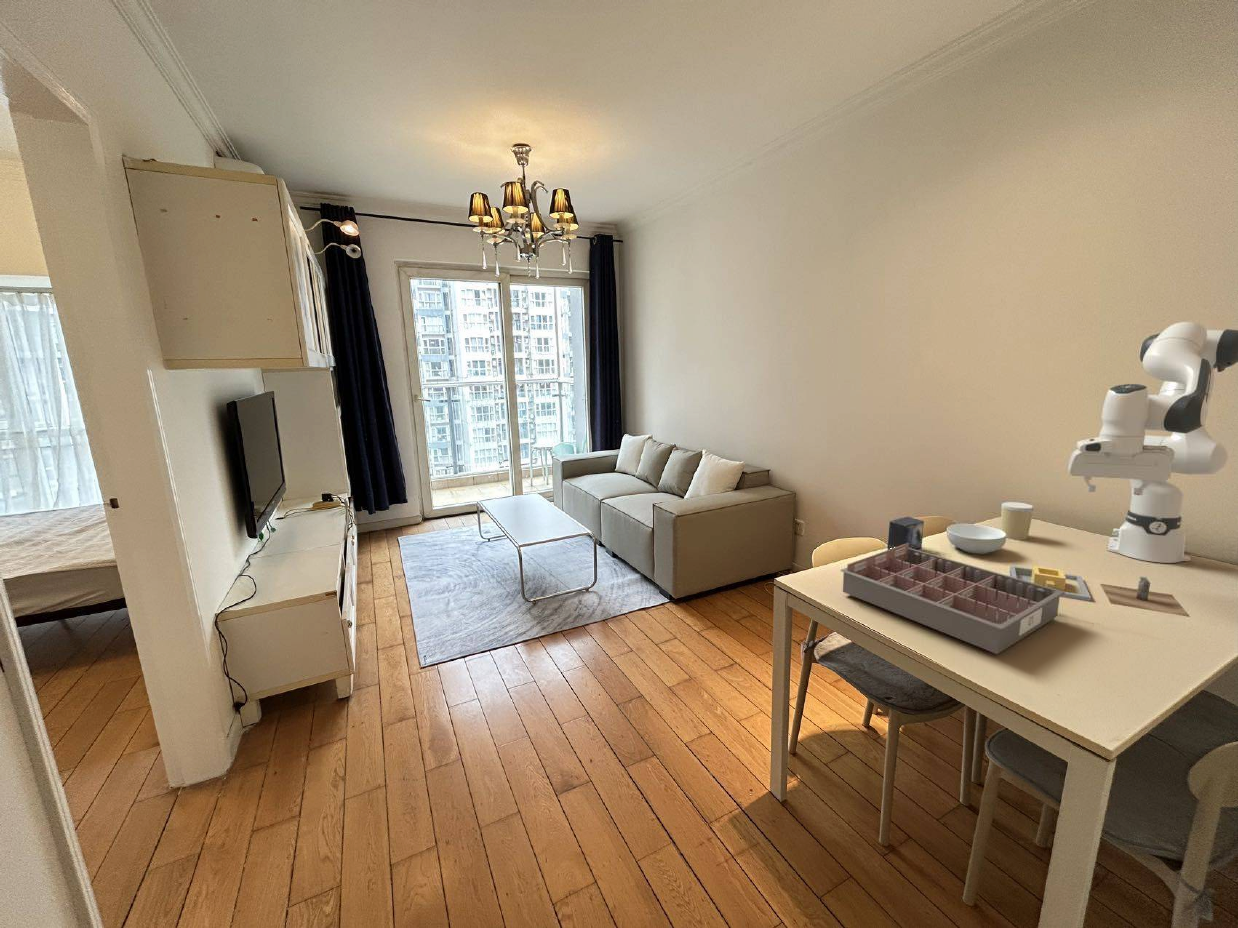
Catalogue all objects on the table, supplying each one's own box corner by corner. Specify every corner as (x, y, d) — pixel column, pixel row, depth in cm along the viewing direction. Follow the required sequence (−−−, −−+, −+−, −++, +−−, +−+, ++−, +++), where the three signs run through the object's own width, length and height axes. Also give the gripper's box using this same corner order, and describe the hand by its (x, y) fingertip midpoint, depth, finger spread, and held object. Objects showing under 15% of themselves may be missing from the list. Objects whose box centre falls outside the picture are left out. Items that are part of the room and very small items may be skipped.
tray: (1009, 573, 153) (1010, 565, 152) (1079, 584, 144) (1080, 576, 143) (1012, 592, 140) (1013, 584, 140) (1089, 606, 131) (1091, 597, 131)
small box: (904, 554, 171) (906, 525, 169) (886, 549, 176) (888, 520, 174) (922, 548, 175) (925, 520, 173) (905, 543, 181) (907, 515, 179)
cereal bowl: (958, 538, 184) (960, 520, 183) (1012, 551, 170) (1015, 531, 169) (936, 549, 175) (937, 529, 174) (991, 563, 161) (993, 542, 160)
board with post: (1099, 588, 141) (1102, 565, 139) (1171, 600, 133) (1175, 575, 131) (1109, 608, 129) (1113, 583, 128) (1189, 622, 121) (1194, 595, 120)
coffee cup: (1025, 533, 186) (1029, 502, 184) (1034, 541, 178) (1037, 509, 176) (995, 531, 190) (998, 500, 188) (1002, 539, 182) (1005, 507, 180)
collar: (1031, 580, 146) (1032, 565, 146) (1060, 585, 143) (1062, 570, 142) (1034, 592, 139) (1035, 577, 138) (1065, 598, 135) (1067, 582, 134)
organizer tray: (999, 662, 109) (1003, 620, 107) (838, 596, 143) (839, 563, 141) (1061, 621, 124) (1066, 584, 123) (903, 570, 159) (905, 540, 157)
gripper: (1172, 443, 133) (1164, 493, 136) (1069, 441, 145) (1064, 487, 148) (1179, 448, 128) (1171, 499, 131) (1073, 445, 140) (1067, 492, 143)
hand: (1114, 493), depth 140 cm, fingers open, 8 cm apart
